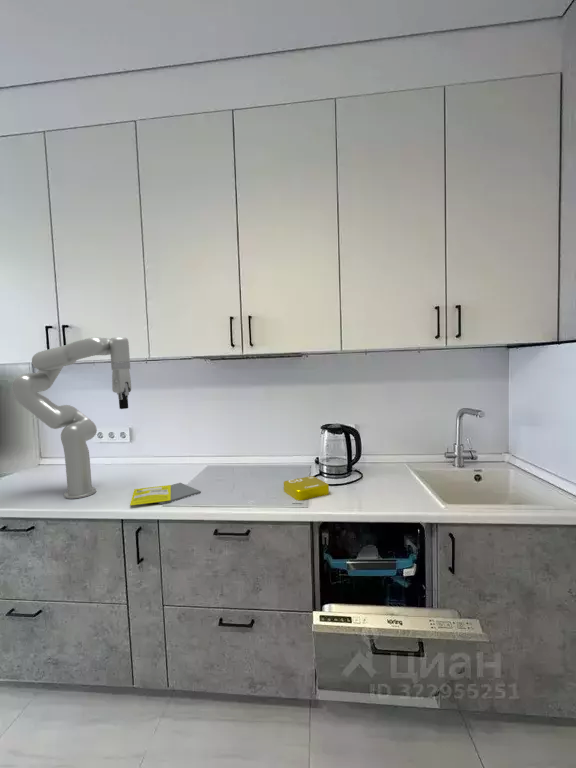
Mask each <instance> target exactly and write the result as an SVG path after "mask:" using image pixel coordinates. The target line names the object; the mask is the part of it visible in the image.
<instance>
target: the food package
mask: <svg viewBox="0 0 576 768" xmlns="http://www.w3.org/2000/svg"><path fill="white" fill-rule="evenodd" d="M171 485H172V484H168V485H159V486H149V487H142V488H134V490H133V492H132V497H131V499H130V503H129V506H137V505H145V504H153V503H156V502H162V501H169V500H171Z"/></svg>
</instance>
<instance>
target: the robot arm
mask: <svg viewBox="0 0 576 768" xmlns="http://www.w3.org/2000/svg"><path fill="white" fill-rule="evenodd" d="M93 356H94V357H95V356H110V364H111V371H112V372H111V373H112V374H111V387H112V389H111V391H112V392H113V393H114V394H115V393H116V395H117V396H118V405H119V407H118V408H119V410H126V409H129V395H130V393H131V391H132V379H131V373H130V370H131V360H130V345H129V339H128V338H127V337H122V336H121V337H120V336H119V337H111V338H109V337H108V338H107V337H97V336H95V337H88V338H84V339H80V340H75V341H73V342H70V343H68V344H65V345H59V346H57V347H54V348H53V347H52V348H49V349H45V350H41V351H38V352H36V353H35V354H33V356H32V358H31V363H32V365H33V367H34V368H35V369H36V370H37V372H33V373H32V372H31V373H24V374H23V373H22V374H20V375H18V376H16V377H15V378H14V379H13V381H12V384H11V392H12V396H13V398H14V400H15V401H16V402H17V403H18V404H19V405H21V406H22V407H23V408H24V409H26V410H28V412H30V413H31V414H32V415H33V416H34V417H36V418H37V419H39V421H41V422H42V423H44V424H45V425H46V426H48V427H49V428H50V429H54V430H58V429H62V430H61V433H60V441H61V445H62V448H63V454H64V461H65V462H64V463H65V474H66V475H65V476H66V485H67V491H65V492H64V493H63V496H64V499H67V500H69V499H71V500H72V499H73V500H74V499H81V498H86V497H88V496H89V497H90V496H91V495H93V494H95V493H96V492H97V488H96V487H94V486H93V484H92V470H91V469H92V468H91V458H90V450H89V447H88V445H87V441H89V440H91V439H94V437H95V436H96V434H97V430H98V429H97V426H96V424H95V423H94V421H92V419H90V418H89V417H88V416H87V415H85V414H84V413H82V411H80V410H79V409H78V408H76V407H74V406H72V405H71V404H70V405H69V404H63V405H57V404H56V403H54V402H53V401H52V400H50V399H49V398H47V397H46V396H44V395H42V394H40V393H39V392H45V391H47V390H49V389H50V388H51V387H52V386H53V385H54V383H55V382H56V379H57V378H58V376H59V375H60V373H61V371H63V370H62V369H63V368H64V367H66V366H71V365H74V364H75V363H76V362H77V361H78V360H81V359H85V358H90V357H93Z"/></svg>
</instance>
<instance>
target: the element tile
mask: <svg viewBox="0 0 576 768" xmlns="http://www.w3.org/2000/svg"><path fill="white" fill-rule="evenodd" d="M329 486H330V485H329V484H328V483H327V482H325V481H323V480H321V479H320V478H318V477H317V476H316V477H315V476H314V475H310V476H304V477H299V478H293V479H289V480H288V479H287V480H284V481H283V492H284V493H285V494H286V495H289V496H290V497H291V498H292V499H294V500H296V501H300V502H301V501H306V500H312V499H315V498H319V497H321V498H322V497H324V496H328V495H329V494H330V487H329Z"/></svg>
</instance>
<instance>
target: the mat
mask: <svg viewBox="0 0 576 768" xmlns="http://www.w3.org/2000/svg"><path fill="white" fill-rule="evenodd" d="M170 485H171V500H169V501H162V502H155V503H157V504H159V505H160V506H163V505H166V504H169V502H170V503H173V502H175V500H176V501H179V500H182V499H181V498H183V499H185V498H184V497H186V498H188V497H187V496H189V497H192V496H191V495H193V496H195V495H194V494H196V495H199V494H201V493H202V490H199V489H196V488H194V487H191V486H189V485H187V484H185V483H182V482H178V483H175V484H170ZM198 493H199V494H198ZM178 499H179V500H178ZM172 501H173V502H172Z"/></svg>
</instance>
